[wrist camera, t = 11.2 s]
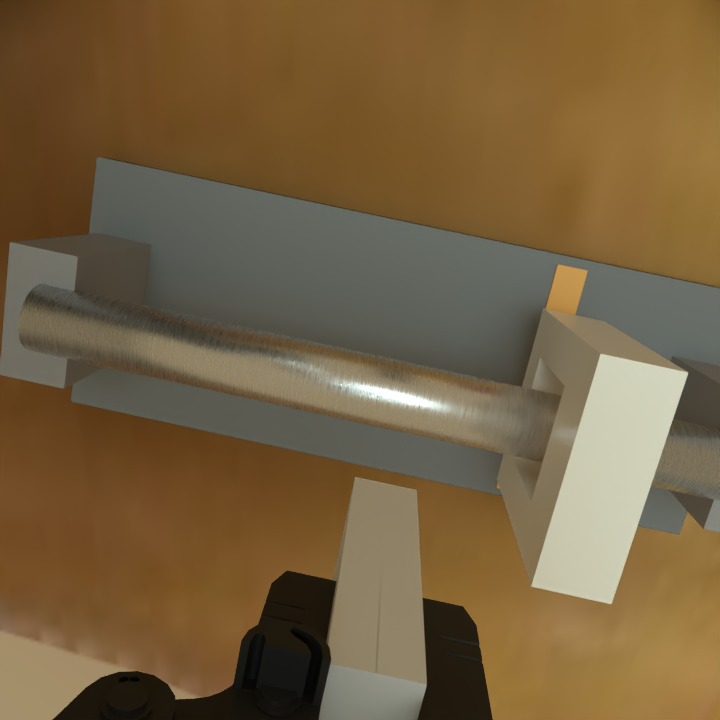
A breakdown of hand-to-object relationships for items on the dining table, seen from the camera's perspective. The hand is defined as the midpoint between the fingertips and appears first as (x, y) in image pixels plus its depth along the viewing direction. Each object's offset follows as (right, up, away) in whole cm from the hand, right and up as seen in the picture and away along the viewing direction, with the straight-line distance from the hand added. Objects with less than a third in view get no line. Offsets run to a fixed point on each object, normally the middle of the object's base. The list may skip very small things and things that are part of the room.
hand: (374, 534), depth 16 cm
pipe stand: (+2, +5, +23) cm, 24 cm away
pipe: (+1, +3, +15) cm, 15 cm away
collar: (+9, +2, +17) cm, 20 cm away
